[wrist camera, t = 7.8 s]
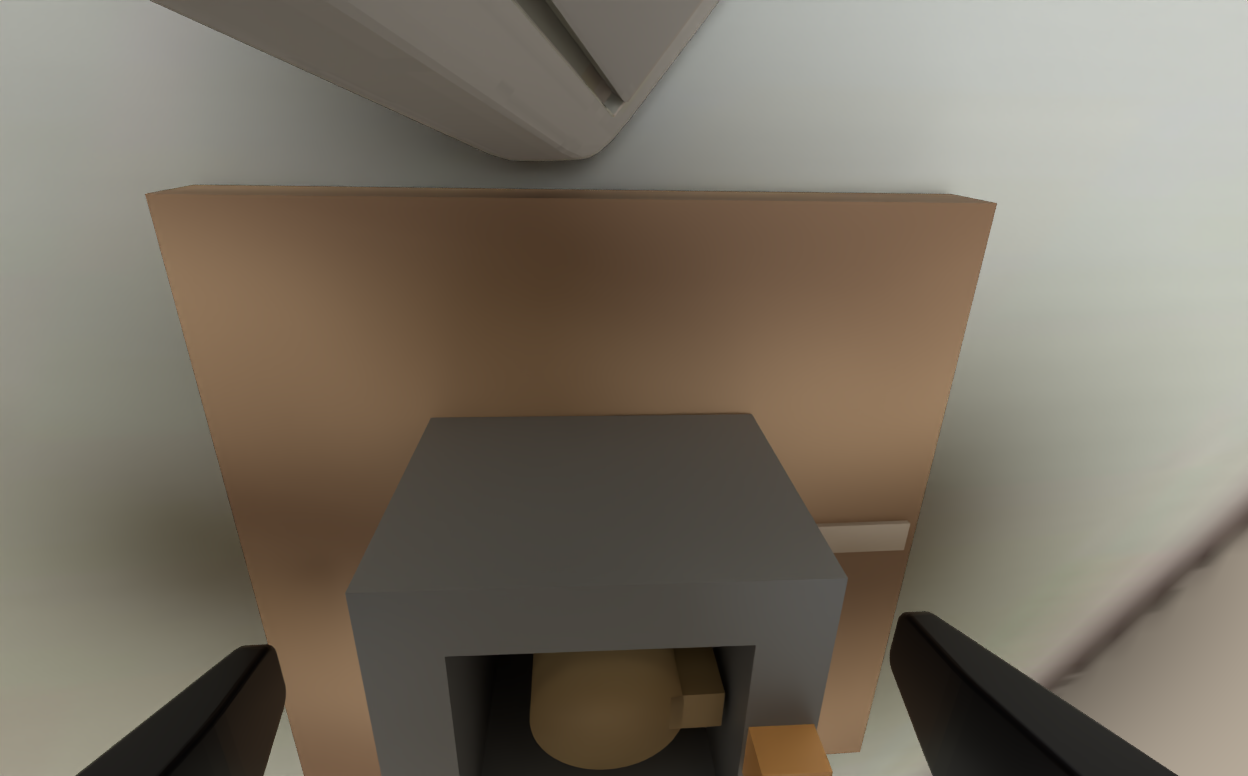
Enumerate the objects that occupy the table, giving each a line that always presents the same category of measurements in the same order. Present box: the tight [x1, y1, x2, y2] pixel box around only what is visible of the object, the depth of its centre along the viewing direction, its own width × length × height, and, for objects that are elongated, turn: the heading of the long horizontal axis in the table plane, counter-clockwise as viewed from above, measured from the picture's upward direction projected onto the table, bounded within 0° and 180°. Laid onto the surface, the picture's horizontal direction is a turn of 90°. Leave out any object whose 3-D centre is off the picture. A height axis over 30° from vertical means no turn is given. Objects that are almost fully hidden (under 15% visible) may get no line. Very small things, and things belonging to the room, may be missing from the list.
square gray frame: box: [345, 414, 848, 776], centre depth 9 cm, size 5×5×5 cm
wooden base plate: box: [145, 185, 997, 776], centre depth 10 cm, size 12×12×5 cm
